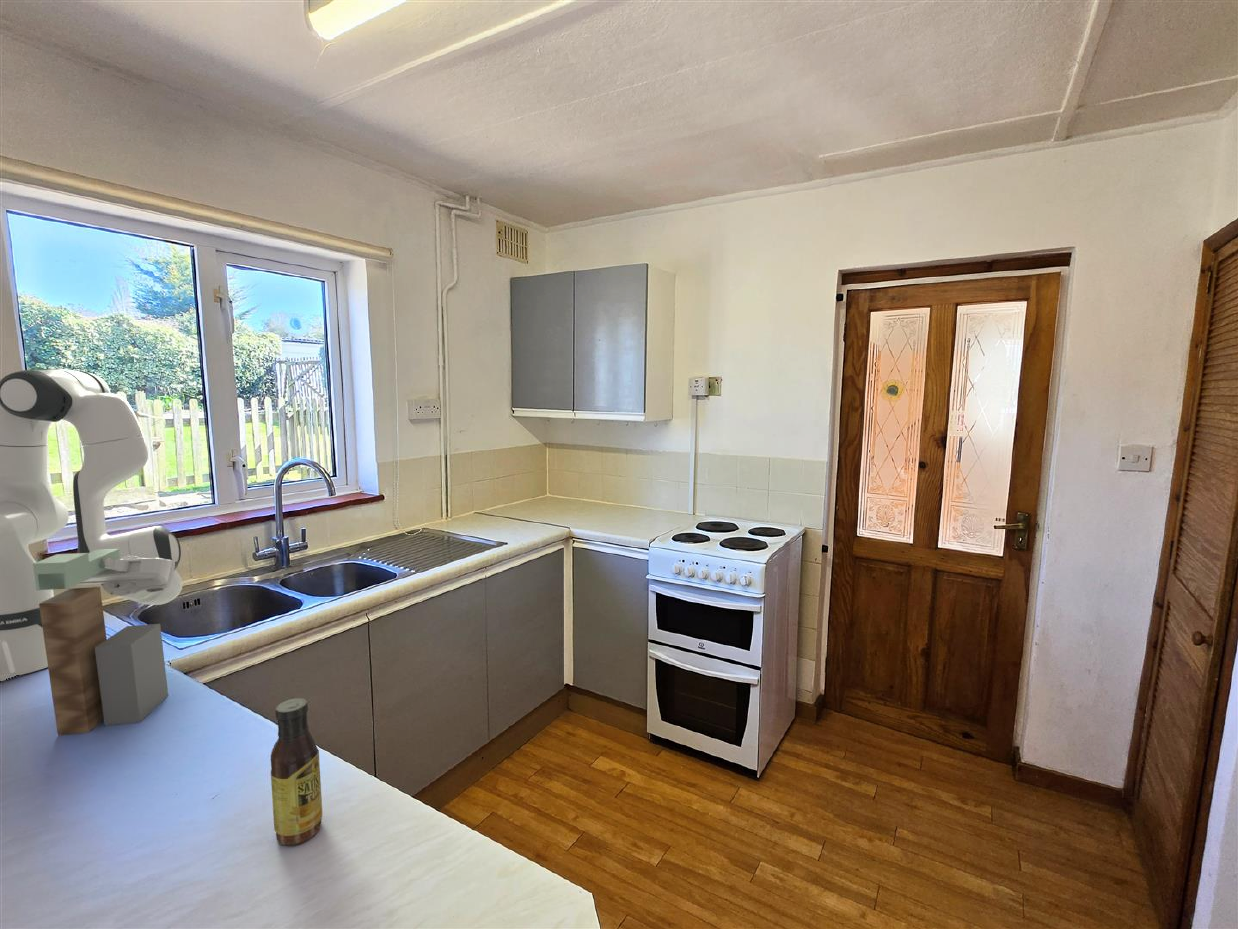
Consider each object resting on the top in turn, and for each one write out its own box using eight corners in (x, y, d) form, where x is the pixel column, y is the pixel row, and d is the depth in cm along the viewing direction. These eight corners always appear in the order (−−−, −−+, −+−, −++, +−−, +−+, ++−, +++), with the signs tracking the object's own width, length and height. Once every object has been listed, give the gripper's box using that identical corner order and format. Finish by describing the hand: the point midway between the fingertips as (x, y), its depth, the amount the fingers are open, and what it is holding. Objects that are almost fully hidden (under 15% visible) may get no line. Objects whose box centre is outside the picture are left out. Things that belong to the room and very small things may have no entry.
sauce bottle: (308, 849, 83) (298, 719, 80) (265, 848, 83) (253, 719, 80) (332, 815, 89) (323, 694, 86) (292, 814, 89) (282, 694, 86)
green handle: (36, 590, 105) (32, 563, 104) (95, 563, 121) (93, 540, 120) (68, 588, 106) (65, 562, 106) (123, 562, 122) (120, 539, 121)
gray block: (104, 725, 112) (94, 647, 110) (135, 698, 122) (127, 626, 120) (140, 721, 114) (130, 644, 111) (168, 695, 123) (160, 623, 121)
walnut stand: (57, 735, 109) (39, 603, 106) (87, 712, 117) (70, 588, 113) (88, 732, 110) (71, 601, 107) (115, 709, 118) (100, 586, 114)
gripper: (77, 565, 126) (30, 549, 114) (183, 560, 131) (149, 545, 118) (69, 594, 124) (21, 581, 112) (177, 588, 128) (142, 576, 116)
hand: (88, 563), depth 115 cm, fingers closed on green handle, 4 cm apart
